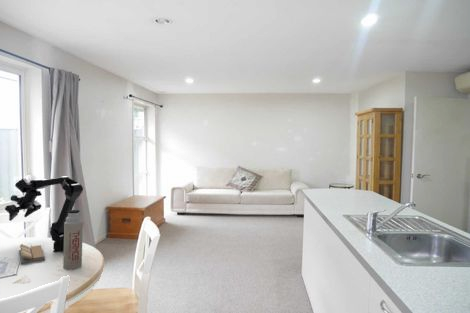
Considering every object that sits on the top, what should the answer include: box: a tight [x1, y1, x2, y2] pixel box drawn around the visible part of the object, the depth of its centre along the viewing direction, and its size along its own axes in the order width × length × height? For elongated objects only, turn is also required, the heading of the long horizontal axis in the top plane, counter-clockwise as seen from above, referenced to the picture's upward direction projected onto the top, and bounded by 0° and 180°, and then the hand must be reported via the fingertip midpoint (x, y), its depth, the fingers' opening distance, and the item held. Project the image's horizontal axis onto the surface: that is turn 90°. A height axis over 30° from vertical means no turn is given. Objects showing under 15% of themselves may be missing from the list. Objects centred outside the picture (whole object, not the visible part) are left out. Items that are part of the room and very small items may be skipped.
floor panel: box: [18, 244, 46, 265], centre depth 154 cm, size 20×10×2 cm, turn 38°
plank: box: [19, 243, 32, 259], centre depth 153 cm, size 19×4×1 cm
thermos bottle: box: [62, 209, 84, 271], centre depth 143 cm, size 8×8×28 cm
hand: (17, 218), depth 172 cm, fingers open, 9 cm apart
